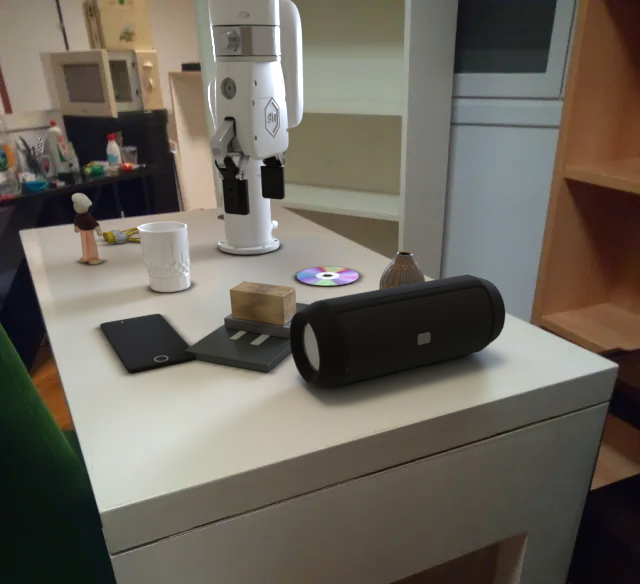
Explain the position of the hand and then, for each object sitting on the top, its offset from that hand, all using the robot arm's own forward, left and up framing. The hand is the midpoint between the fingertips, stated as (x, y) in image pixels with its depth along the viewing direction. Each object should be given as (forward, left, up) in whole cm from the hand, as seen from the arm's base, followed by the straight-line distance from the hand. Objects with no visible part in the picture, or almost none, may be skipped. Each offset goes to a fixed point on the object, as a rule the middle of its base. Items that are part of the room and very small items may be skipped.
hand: (256, 205), depth 76 cm
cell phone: (+10, -13, -18) cm, 24 cm away
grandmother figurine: (-19, -47, -17) cm, 54 cm away
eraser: (+1, +1, -16) cm, 16 cm away
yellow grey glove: (-39, -51, -17) cm, 66 cm away
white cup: (-12, -24, -17) cm, 32 cm away
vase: (-15, +16, -17) cm, 28 cm away
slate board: (+1, +1, -17) cm, 17 cm away
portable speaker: (+5, +21, -17) cm, 27 cm away
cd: (-27, -1, -17) cm, 32 cm away
